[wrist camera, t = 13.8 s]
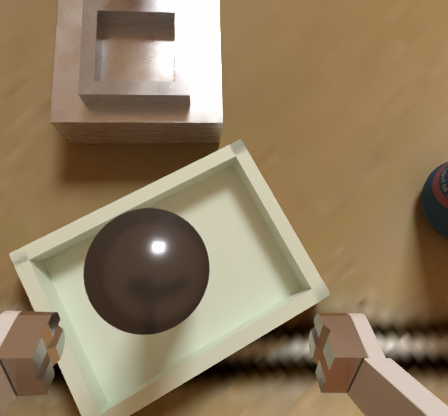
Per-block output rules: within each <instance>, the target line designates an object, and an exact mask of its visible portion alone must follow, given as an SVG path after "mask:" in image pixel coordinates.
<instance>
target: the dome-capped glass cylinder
mask: <svg viewBox="0 0 448 416" xmlns="http://www.w3.org/2000/svg"><path fill="white" fill-rule="evenodd" d="M209 272H210V268H209V258H208V253H207V250H206V246H205V244H204V242H203V240H202V238H201V237H200V235H199V233H198V232H197V231H196V230H195V228H194V227H193V226H192V225H191V224H190V223H189V222H188V221H186V220H185V219H183V218H182V217H180V216H178V215H177V214H175V213H172V212H169V211H167V210H162V209H156V208H142V209H135V210H132V211H128V212H126V213H124V214H121V215H119V216H118V217H116V218H114V219H113V220H111V221H110V222H109V223H107V224H106V225H105V226H104V227H103V228H102V229H101V230H100V231H99V233H98V234H97V235H96V236H95V238H94V240H93V241H92V243H91V245H90V247H89V249H88V251H87V255H86V258H85V263H84V273H83V277H84V286H85V290H86V294H87V296H88V299H89V301H90V303H91V305H92V307H93V308H94V309H95V311H96V312H97V314H98V315H99V316H100V317H101V318H102V319H103V320H104V321H106V322H107V323H108V324H110V325H111V326H113V327H115V328H117V329H119V330H121V331H124V332H127V333H131V334H138V335H151V334H156V333H161V332H164V331H167V330H169V329H171V328H173V327H176V326H177V325H179V324H180V323H182V322H183V321H184V320H185V319H187V318H188V317H189V316H190V315H191V314H192V313H193V312H194V310H195V309H196V308H197V306H198V305H199V303H200V302H201V300H202V298H203V296H204V294H205V291H206V288H207V285H208V280H209Z"/></svg>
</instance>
